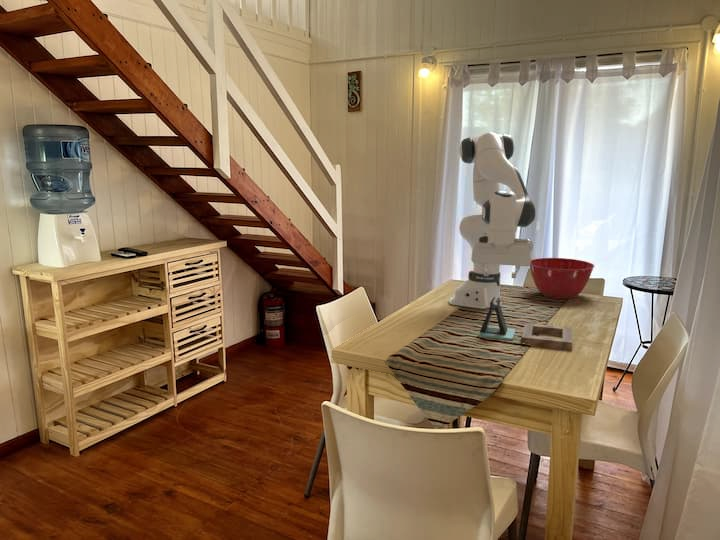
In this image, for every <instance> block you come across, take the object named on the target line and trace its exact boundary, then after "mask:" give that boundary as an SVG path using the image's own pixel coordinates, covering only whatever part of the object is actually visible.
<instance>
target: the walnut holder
mask: <svg viewBox="0 0 720 540" xmlns="http://www.w3.org/2000/svg"><path fill="white" fill-rule="evenodd" d="M523 326H524V327H523V330H522V334H521V336H520V337H521V339H520V343H525V344H530V345H529V346H532V345H533V346H534V347H541V348H552V349H558V350H559V349H560V350H567V351H568V350H570V351H572V349H573V332H572V331H573V328H572V327H571V326H561V325H550V324H549V325H547V324H541V323H540V324H539V323H530V322H529V323H528V322H525V323H524V325H523ZM533 332H536V333H535V334H543V335H553V336H562V337H561V338H557V337H550V336H549V337H547V336H538V335H534V334H533Z"/></svg>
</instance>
